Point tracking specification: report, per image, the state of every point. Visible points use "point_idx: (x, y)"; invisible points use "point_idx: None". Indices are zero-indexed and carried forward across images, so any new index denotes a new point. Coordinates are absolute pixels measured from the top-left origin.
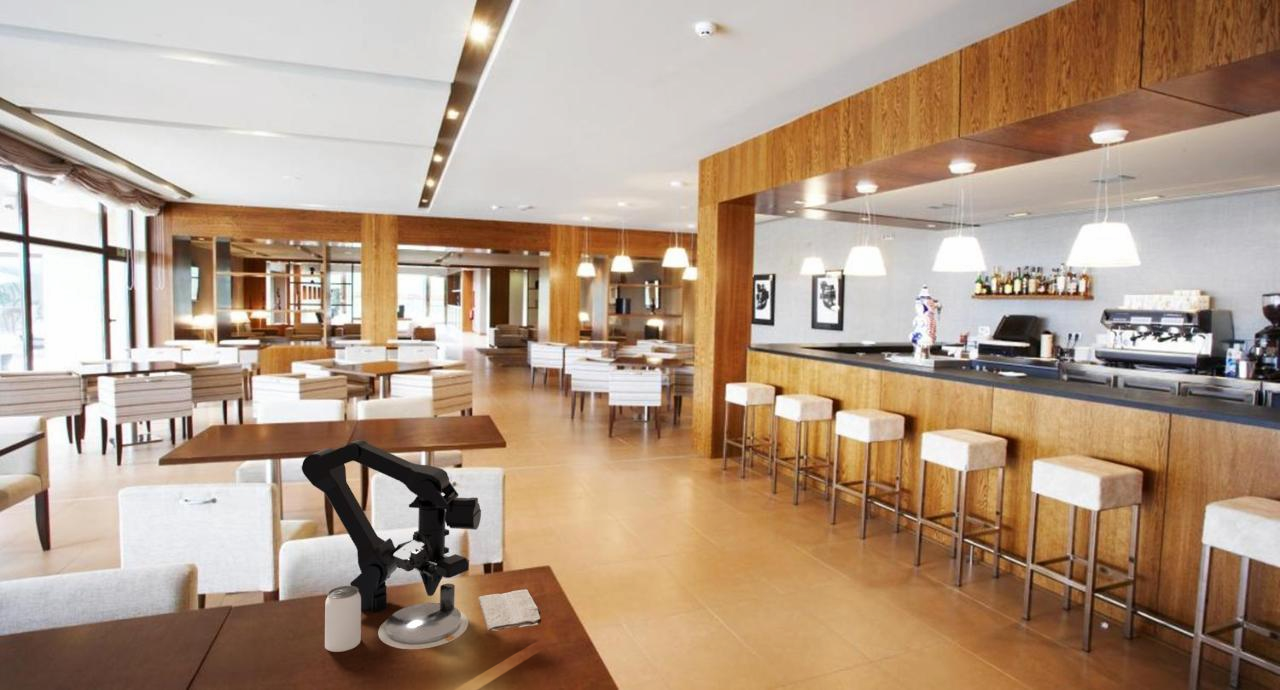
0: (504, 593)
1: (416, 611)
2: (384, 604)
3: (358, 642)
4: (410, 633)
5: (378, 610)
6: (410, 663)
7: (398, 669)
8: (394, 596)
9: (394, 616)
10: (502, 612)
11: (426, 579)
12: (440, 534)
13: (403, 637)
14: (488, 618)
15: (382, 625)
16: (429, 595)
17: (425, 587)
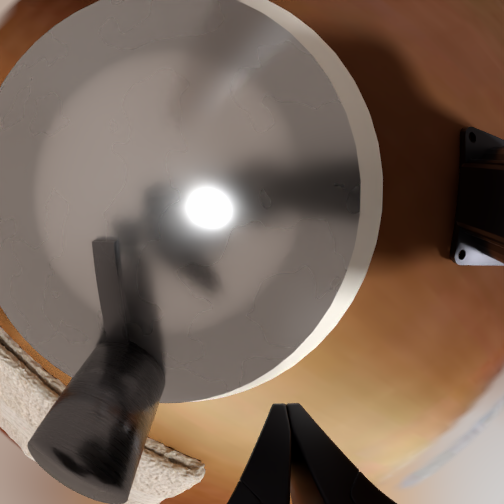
0: (152, 499)
1: (239, 249)
2: (481, 216)
3: None
4: (47, 57)
5: (472, 176)
6: (30, 42)
7: (42, 5)
8: (491, 331)
9: (306, 100)
10: (38, 425)
11: (318, 501)
12: None
13: (63, 24)
14: (23, 386)
15: (335, 64)
16: (275, 405)
17: (321, 438)
